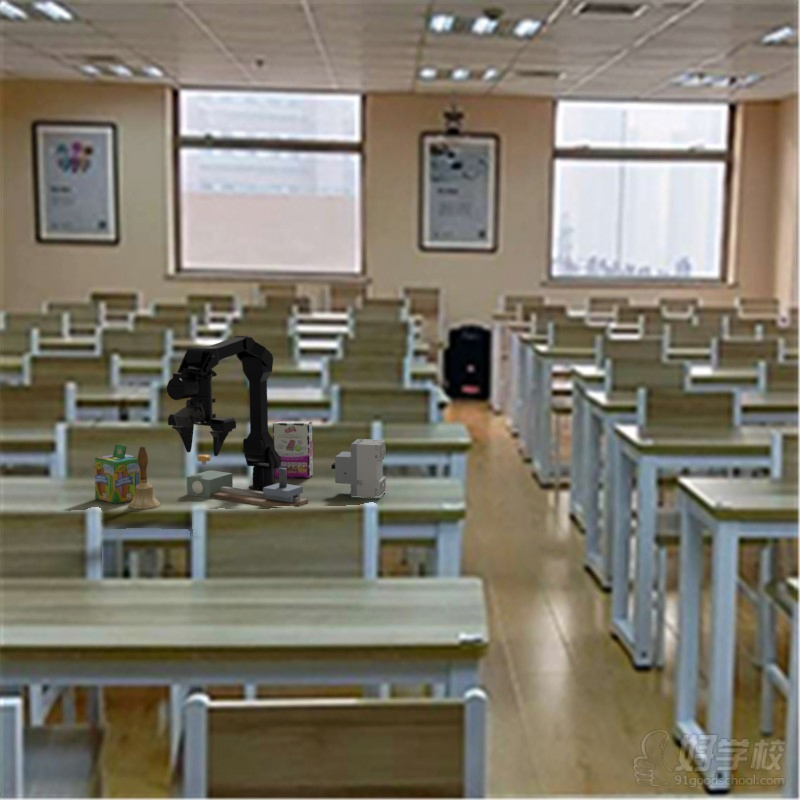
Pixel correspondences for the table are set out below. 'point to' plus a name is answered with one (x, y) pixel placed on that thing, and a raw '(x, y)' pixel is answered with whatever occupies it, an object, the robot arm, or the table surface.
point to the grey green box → (208, 483)
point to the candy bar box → (294, 447)
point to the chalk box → (116, 476)
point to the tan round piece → (203, 458)
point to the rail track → (253, 497)
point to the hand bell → (143, 486)
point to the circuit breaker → (362, 468)
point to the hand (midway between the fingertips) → (202, 454)
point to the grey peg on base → (282, 489)
